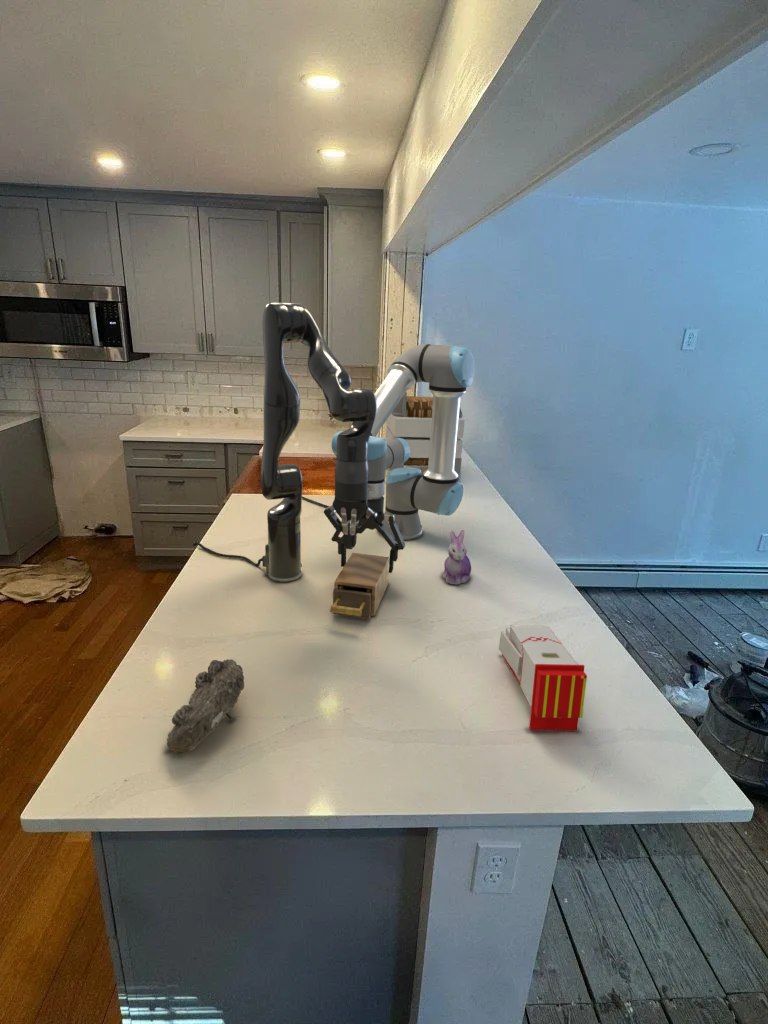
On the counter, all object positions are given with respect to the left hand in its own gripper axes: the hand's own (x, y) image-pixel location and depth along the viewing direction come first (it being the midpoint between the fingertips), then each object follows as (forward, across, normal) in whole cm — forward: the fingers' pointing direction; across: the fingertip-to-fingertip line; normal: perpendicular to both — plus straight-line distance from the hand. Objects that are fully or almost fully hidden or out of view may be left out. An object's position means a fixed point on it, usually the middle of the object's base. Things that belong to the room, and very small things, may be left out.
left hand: (349, 547), depth 134 cm
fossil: (+21, -16, -39) cm, 47 cm away
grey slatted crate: (+21, -2, +144) cm, 146 cm away
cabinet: (+21, 0, +15) cm, 26 cm away
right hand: (+15, 0, +20) cm, 25 cm away
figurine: (+21, +24, +34) cm, 47 cm away
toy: (+21, +44, -14) cm, 51 cm away
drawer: (+20, 0, +9) cm, 22 cm away
